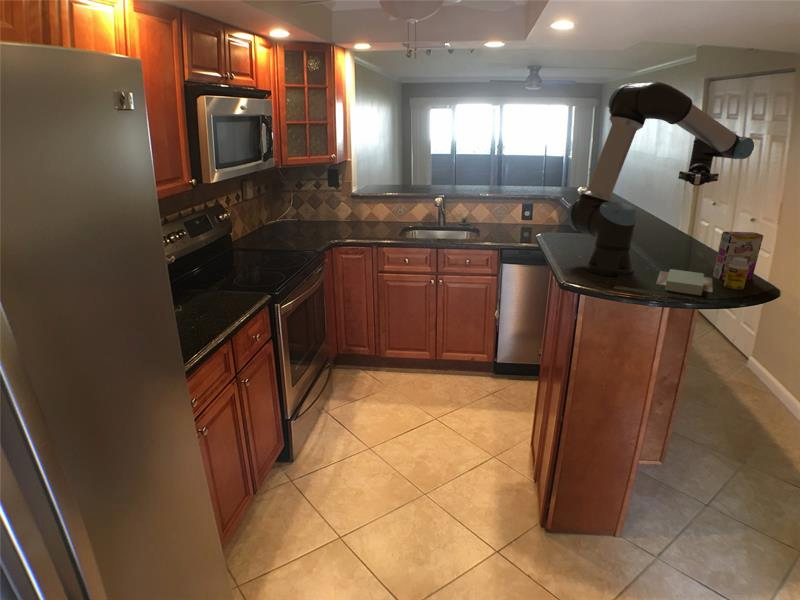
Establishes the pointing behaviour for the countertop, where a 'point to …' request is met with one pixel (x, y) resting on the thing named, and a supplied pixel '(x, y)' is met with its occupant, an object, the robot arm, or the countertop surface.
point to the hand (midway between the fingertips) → (697, 180)
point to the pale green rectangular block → (685, 282)
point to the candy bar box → (737, 251)
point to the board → (664, 275)
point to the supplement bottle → (736, 274)
